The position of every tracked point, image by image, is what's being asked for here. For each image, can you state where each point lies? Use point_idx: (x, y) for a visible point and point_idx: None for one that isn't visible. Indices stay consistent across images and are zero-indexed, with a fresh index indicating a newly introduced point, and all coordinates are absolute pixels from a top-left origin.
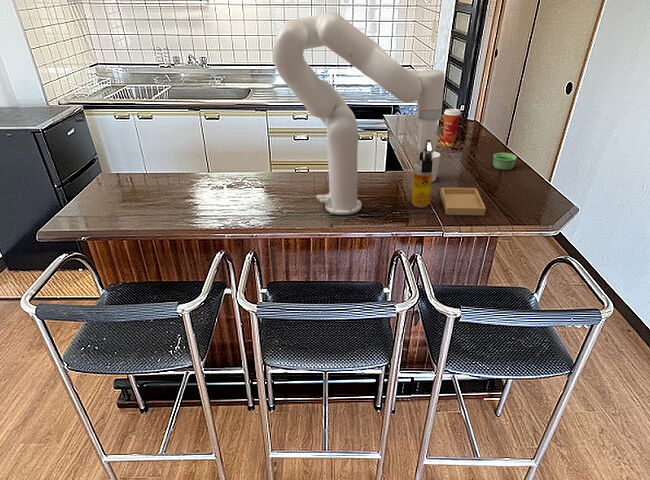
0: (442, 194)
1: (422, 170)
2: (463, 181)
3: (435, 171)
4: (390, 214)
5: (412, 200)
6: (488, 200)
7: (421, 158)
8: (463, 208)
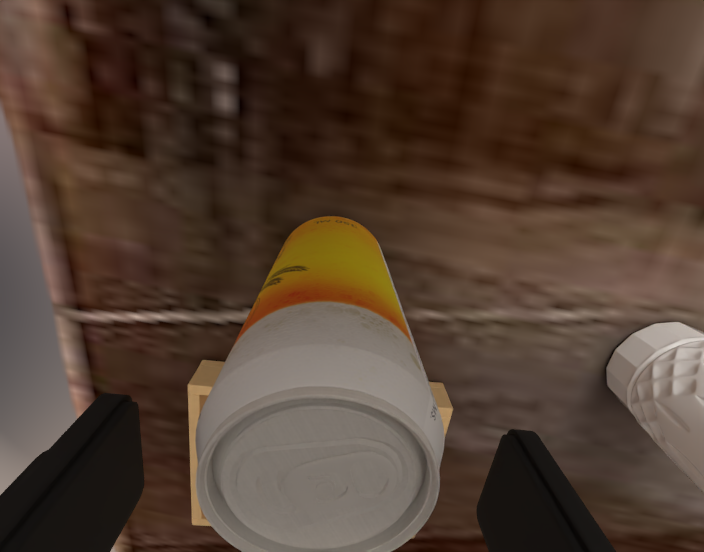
0: None
1: (89, 418)
2: None
3: (650, 433)
4: (194, 39)
5: (320, 221)
6: None
7: (520, 487)
8: (190, 448)
